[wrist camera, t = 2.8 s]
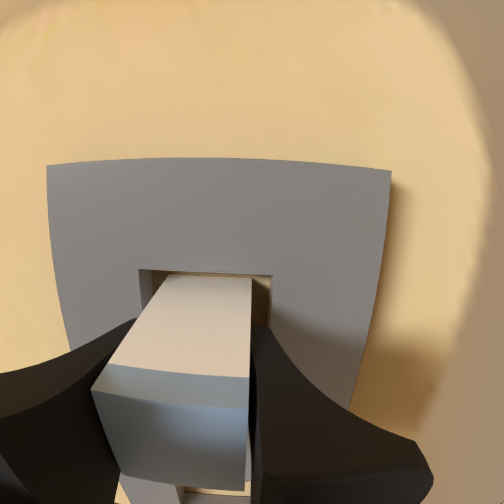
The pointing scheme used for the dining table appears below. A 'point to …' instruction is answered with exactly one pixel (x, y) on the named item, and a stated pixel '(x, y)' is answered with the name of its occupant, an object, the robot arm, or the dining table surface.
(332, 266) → the socket board
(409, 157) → the dining table surface
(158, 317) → the plug
